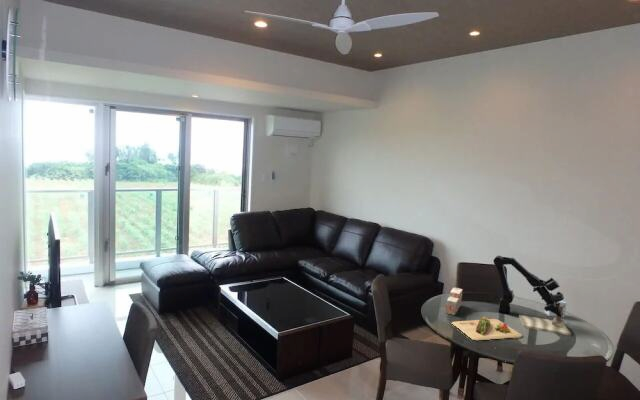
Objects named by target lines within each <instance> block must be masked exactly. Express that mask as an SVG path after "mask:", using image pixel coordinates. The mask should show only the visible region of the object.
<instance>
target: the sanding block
mask: <svg viewBox="0 0 640 400" xmlns="http://www.w3.org/2000/svg"><path fill="white" fill-rule="evenodd" d="M558 310H559V312H560V314H561V315H562V313H563V307H561V306H559V307H558ZM562 318H563V317H559V316H557V317H553V319H551V320H552V324H553V325H556V326H559V327H563V326H564V325H565V326H566V320H564V319H562Z"/></svg>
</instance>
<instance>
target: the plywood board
mask: <svg viewBox="0 0 640 400" xmlns="http://www.w3.org/2000/svg"><path fill="white" fill-rule="evenodd" d="M518 318H519V320H520V322H521V324H522V327H523V328H525V329H530V330H536V331H541V332H548V333H551V334H552V333H553V334H559V335H565V336H568V337H569V336H571V335H572V333H571V331H570V330H569V328H568V327H567V326H566V324H565V325H564V326H563V327H559V326H556V325H553V324H552V320H553V319H547V318H541V317H535V316H528V315H523V314H518Z"/></svg>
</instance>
